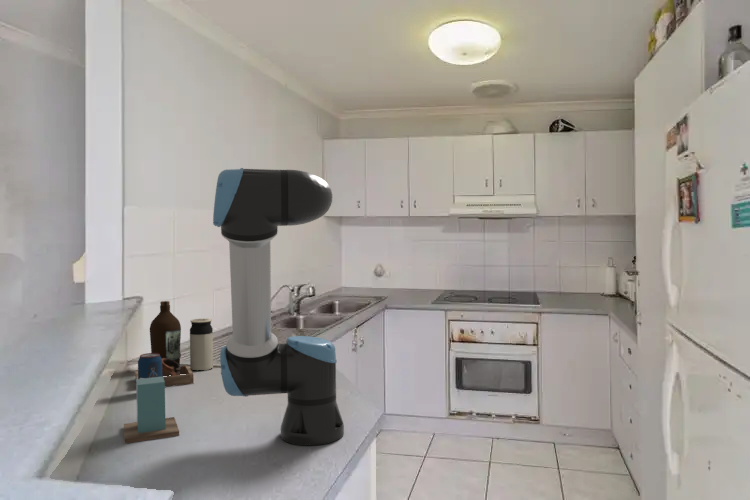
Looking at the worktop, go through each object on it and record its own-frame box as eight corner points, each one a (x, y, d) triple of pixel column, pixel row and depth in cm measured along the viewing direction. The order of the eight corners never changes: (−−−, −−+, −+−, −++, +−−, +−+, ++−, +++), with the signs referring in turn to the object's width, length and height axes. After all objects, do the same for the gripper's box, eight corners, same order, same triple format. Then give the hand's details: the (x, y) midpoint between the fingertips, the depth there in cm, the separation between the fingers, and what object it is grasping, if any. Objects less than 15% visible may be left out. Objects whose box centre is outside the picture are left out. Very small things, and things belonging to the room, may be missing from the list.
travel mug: (204, 372, 199) (203, 321, 199) (185, 370, 202) (184, 320, 201) (217, 367, 206) (216, 318, 206) (199, 365, 209) (199, 317, 209)
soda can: (149, 389, 176) (149, 351, 176) (167, 391, 174) (166, 353, 173) (133, 395, 170) (132, 356, 169) (151, 397, 167) (150, 357, 167)
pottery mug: (161, 377, 195) (173, 356, 194) (176, 392, 190) (188, 371, 190) (133, 375, 184) (145, 354, 184) (148, 392, 179) (161, 370, 179)
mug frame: (193, 383, 183) (193, 374, 183) (137, 389, 176) (137, 380, 176) (188, 373, 197) (187, 365, 197) (135, 379, 190) (135, 370, 189)
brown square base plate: (179, 435, 134) (178, 398, 134) (124, 443, 129) (124, 405, 129) (174, 420, 145) (173, 386, 145) (123, 427, 140) (123, 392, 140)
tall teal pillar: (165, 429, 136) (164, 382, 136) (137, 433, 133) (137, 385, 133) (163, 421, 141) (162, 376, 141) (136, 425, 139) (136, 379, 139)
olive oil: (143, 371, 200) (142, 302, 200) (166, 365, 210) (165, 299, 209) (165, 374, 196) (164, 303, 195) (187, 368, 205) (186, 300, 205)
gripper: (279, 228, 153) (280, 306, 153) (258, 230, 175) (259, 297, 176) (252, 229, 150) (253, 307, 150) (234, 230, 172) (235, 299, 173)
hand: (256, 302), depth 163 cm, fingers open, 13 cm apart
